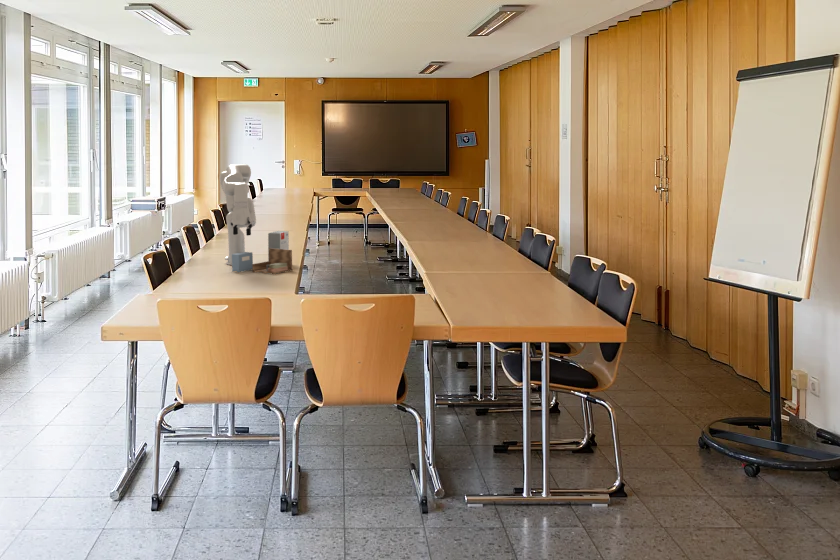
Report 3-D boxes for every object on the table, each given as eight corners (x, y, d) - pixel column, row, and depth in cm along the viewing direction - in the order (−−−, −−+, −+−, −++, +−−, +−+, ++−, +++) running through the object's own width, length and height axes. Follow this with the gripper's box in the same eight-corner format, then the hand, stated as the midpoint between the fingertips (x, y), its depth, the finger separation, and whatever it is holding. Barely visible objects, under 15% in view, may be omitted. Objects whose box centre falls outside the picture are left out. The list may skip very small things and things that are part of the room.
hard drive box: (280, 267, 520) (279, 233, 516) (268, 266, 521) (267, 233, 518) (289, 263, 535) (288, 230, 531) (277, 262, 536) (276, 230, 533)
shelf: (252, 271, 500) (251, 251, 498) (270, 268, 513) (270, 248, 511) (274, 274, 492) (274, 253, 490) (292, 270, 506) (291, 249, 504)
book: (232, 271, 502) (231, 254, 500) (246, 268, 512) (245, 251, 511) (239, 272, 499) (238, 254, 498) (253, 269, 510) (252, 252, 508)
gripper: (225, 204, 501) (226, 234, 503) (248, 206, 492) (249, 236, 495) (233, 204, 507) (234, 233, 510) (257, 205, 499) (258, 235, 502)
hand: (242, 234), depth 502 cm, fingers open, 9 cm apart
